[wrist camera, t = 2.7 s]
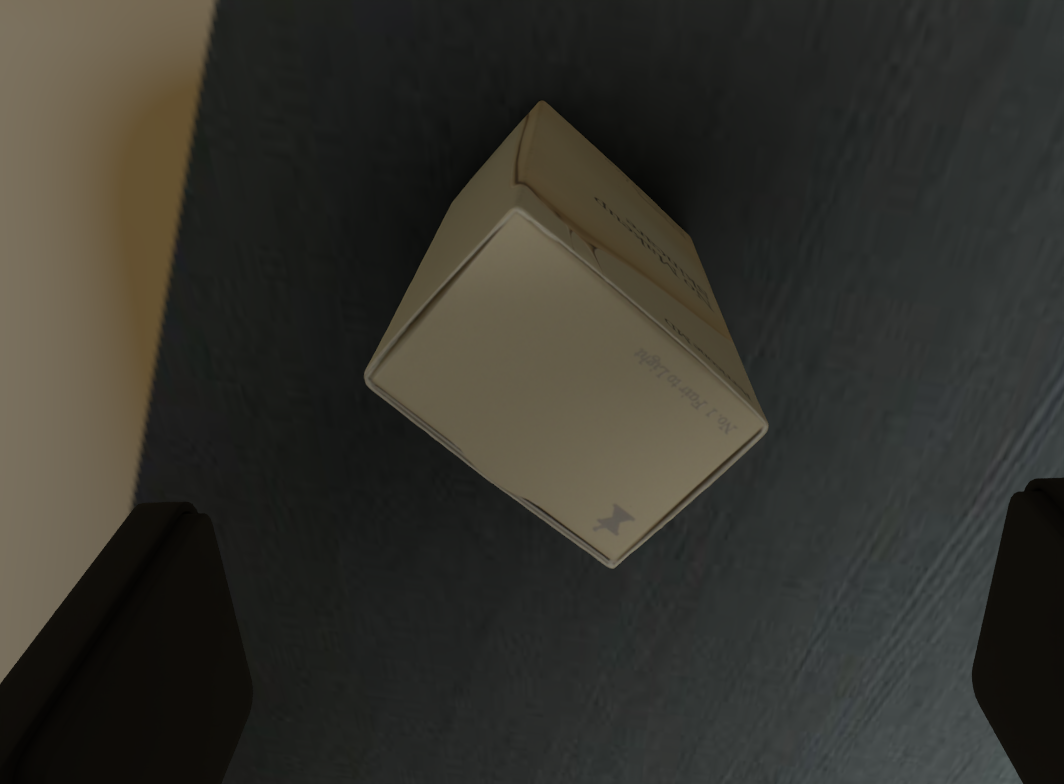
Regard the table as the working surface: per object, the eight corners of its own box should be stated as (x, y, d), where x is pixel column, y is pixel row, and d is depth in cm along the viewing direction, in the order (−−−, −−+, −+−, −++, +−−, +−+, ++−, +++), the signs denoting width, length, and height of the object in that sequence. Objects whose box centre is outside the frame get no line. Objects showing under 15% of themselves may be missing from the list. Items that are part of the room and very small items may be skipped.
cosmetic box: (693, 236, 27) (793, 430, 16) (592, 339, 28) (618, 582, 17) (534, 90, 25) (522, 192, 14) (435, 208, 26) (352, 385, 15)
